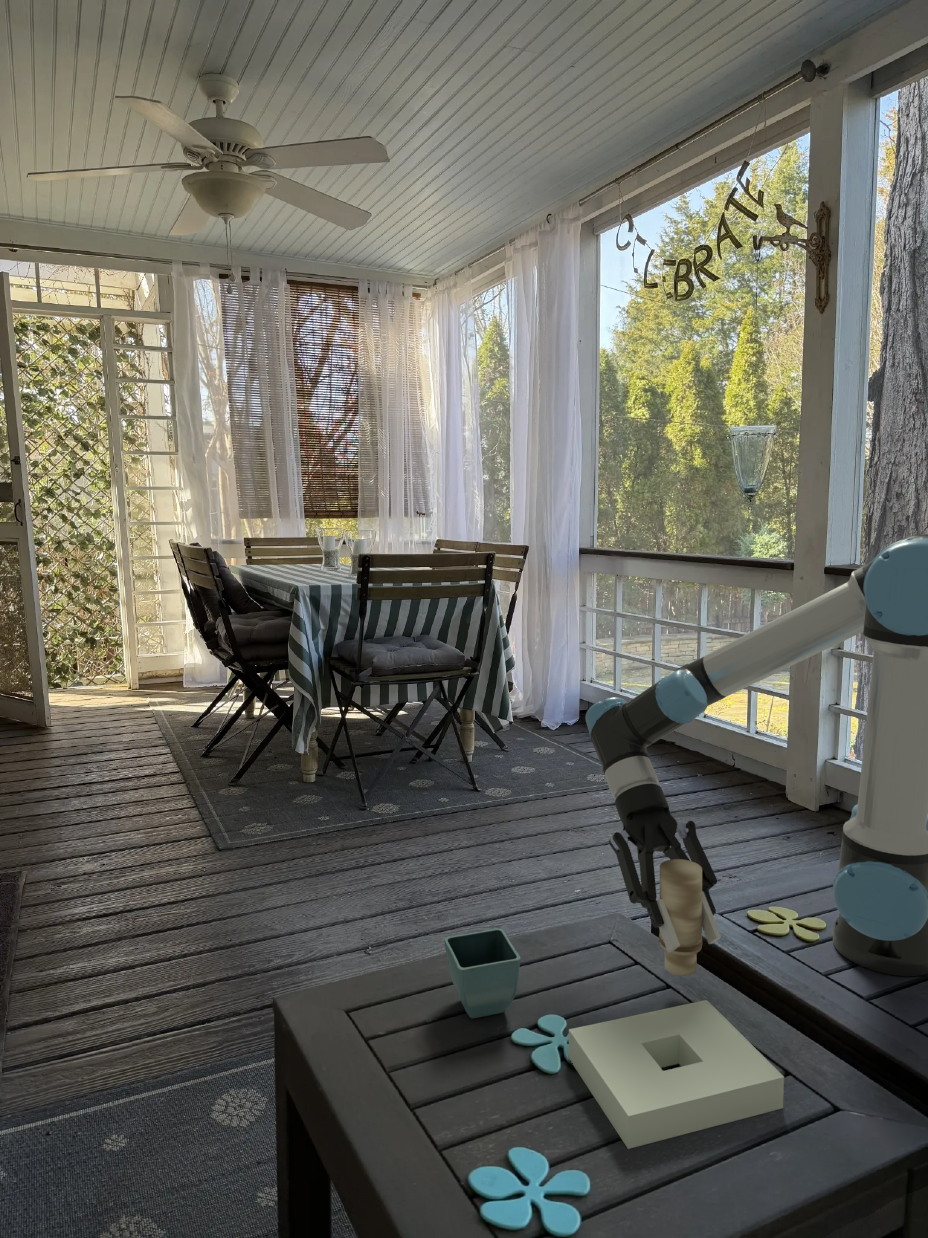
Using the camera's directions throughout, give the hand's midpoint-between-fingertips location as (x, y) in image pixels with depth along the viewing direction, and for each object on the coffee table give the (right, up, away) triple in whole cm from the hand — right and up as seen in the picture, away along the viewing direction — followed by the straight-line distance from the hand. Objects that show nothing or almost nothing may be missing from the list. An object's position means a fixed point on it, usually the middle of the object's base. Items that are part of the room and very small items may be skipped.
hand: (694, 944), depth 118 cm
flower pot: (-29, -10, +2) cm, 31 cm away
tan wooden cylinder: (-1, -5, +4) cm, 7 cm away
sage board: (-7, -12, -14) cm, 19 cm away
